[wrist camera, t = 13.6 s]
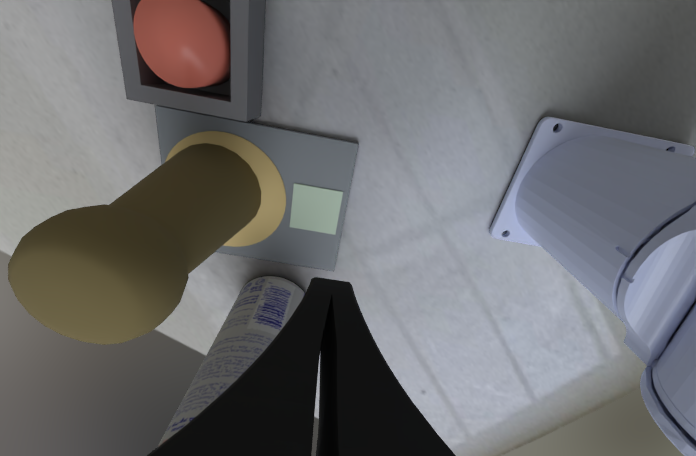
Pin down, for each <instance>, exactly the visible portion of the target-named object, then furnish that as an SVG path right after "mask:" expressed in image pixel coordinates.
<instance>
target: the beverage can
mask: <svg viewBox="0 0 696 456" xmlns="http://www.w3.org/2000/svg"><path fill="white" fill-rule="evenodd" d="M304 295H305V293H304V292H303V290H302V289H301V288H300V287H298V286H297V285H296V284H294V283H293V282H291V281H289V280H286V279H284V278H280V277H274V276H265V277H259V278H256V279H253V280H251V281H250V282H248V283H247V284H246V285H245V286H244V287H243V288H242V290H241V292H240V294H239V296H238V298H237V300H236V301H235V303H234V305H233V307H232V309H231V311H230V313H229V315H228V316H227V318H226V320H225V322H224V324H223V326H222V328H221V329H220V331H219V333H218V335H217V337H216V339H215V341H214V342H213V344H212V346H211V348H210V350H209V352H208V354H207V356H206V357H205V359H204V361H203V363H202V365H201V367H200V369H199V371H198V372H197V374H196V376H195V378H194V380H193V382H192V384H191V385H190V387H189V389H188V391H187V393H186V395H185V397H184V398H183V400H182V402H181V404H180V406H179V408H178V410H177V411H176V413H175V415H174V417H173V419H172V421H171V423H170V425H169V426H168V428H167V430H166V432H165V434H164V436H163V438H162V440H161V441H160V443H159V445H158V447H159V446H160V445H161V444H162V443H164V442H165V441H166V440H168V439H169V438H170V437H171V436H173V435H174V434H175V433H177V432H178V431H179V430H180V429H182V428H183V427H184V426H185V425H187V424H188V423H189V422H190V421H191V420H193V419H194V418H195V417H196V416H197V415H198V414H199V413H201V412H202V411H203V410H204V409H205V408H206V407H207V406H209V405H210V404H211V403H212V402H213V401H214V400H215V399H217V398H218V397H219V396H220V395H221V394H222V393H223V392H224V391H225V390H227V389H228V388H229V387H230V386H231V385H232V384H233V383H234V382H235V381H236V380H237V379H238V378H239V377H240V376H241V375H242V374H243V373H244V372H245V371H246V370H247V369H248V368H249V367H250V366H251V365H252V364H253V363H254V362H255V360H256V359H257V358H258V357H259V356H260V355H261V354H262V353H263V352H264V350H265V349H266V348H267V347H268V346H269V345H270V343H271V342H272V341H273V340H274V339H275V337H276V336H277V335H278V333H279V332H280V331H281V329H282V328H283V327H284V326H285V324H286V323H287V322H288V320H289V319H290V317H291V316H292V314H293V313H294V311H295V310H296V308H297V307H298V305H299V304H300V302H301V300H302V299H303V297H304Z"/></svg>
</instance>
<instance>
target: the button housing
mask: <svg viewBox="0 0 696 456" xmlns="http://www.w3.org/2000/svg"><path fill="white" fill-rule="evenodd" d="M140 1H141V0H112V6H113V13H114V19H115V26H116V32H117V39H118V45H119V51H120V58H121V64H122V71H123V77H124V84H125V90H126V97H127V99H129V100H134V101H139V102H145V103H150V104H155V105H160V106H166V107H171V108H176V109H181V110H187V111H192V112H197V113H203V114H208V115H213V116H218V117H224V118H229V119H234V120H239V121H245V122H247V121H250V120H252V119H254V118H257V117H259V116H261V104H262V80H263V55H264V30H265V5H266V0H201V1H203V2H205V3H207V4H209V5H211V6H212V7H214V8H216V9H217V10H218V11H219V12H221V13H222V14H223V15H224V17H225V18H226V19H227V20H228V22H229V23H230V38H231V77H230V78H229V80H227V81H226V82H224V83H223V84H221V85H218V86H211V87H198V88H182V87H177V86H174V85H172V84H169V83H168V82H166V81H164V80H163V79H161V78H160V77H159V76H157V75H156V74H155V73H154V72H153V71H152V70H151V69H150V67H149V66H148V65H147V64H146V62H145V61H144V59H143V57H142V55H141V54H140V52H139V49H138V47H137V44H136V40H135V36H134V27H133V23H134V15H135V11H136V8H137V6H138V4H139V2H140Z"/></svg>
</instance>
